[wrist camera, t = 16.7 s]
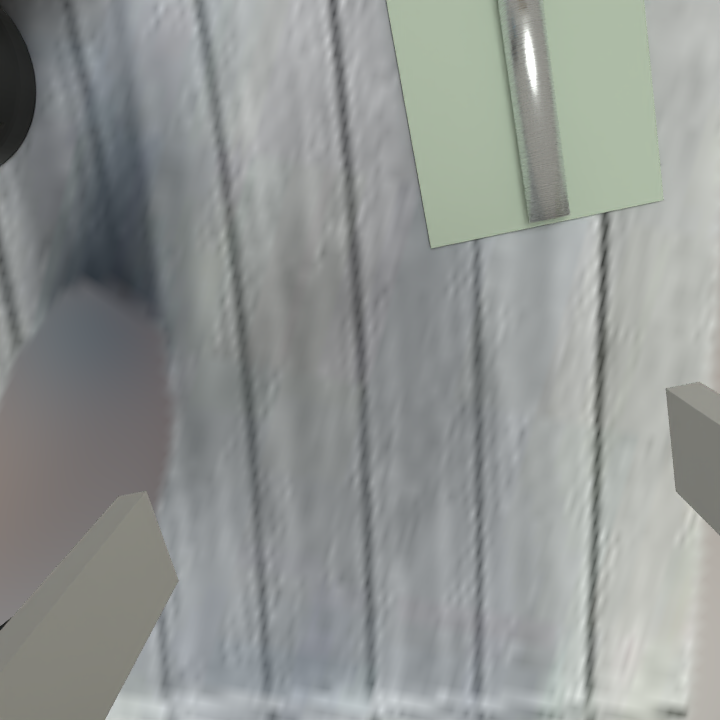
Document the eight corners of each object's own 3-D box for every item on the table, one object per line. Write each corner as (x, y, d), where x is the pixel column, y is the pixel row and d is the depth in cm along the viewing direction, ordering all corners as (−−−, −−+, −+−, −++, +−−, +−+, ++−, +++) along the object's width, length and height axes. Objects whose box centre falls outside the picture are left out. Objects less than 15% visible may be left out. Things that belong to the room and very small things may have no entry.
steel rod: (569, 214, 45) (571, 215, 42) (529, 222, 46) (528, 223, 43) (524, -137, 40) (523, -162, 37) (481, -119, 41) (476, -143, 38)
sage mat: (660, 200, 45) (663, 200, 45) (430, 248, 47) (431, 248, 47) (618, -217, 40) (622, -224, 39) (360, -142, 42) (359, -147, 41)
